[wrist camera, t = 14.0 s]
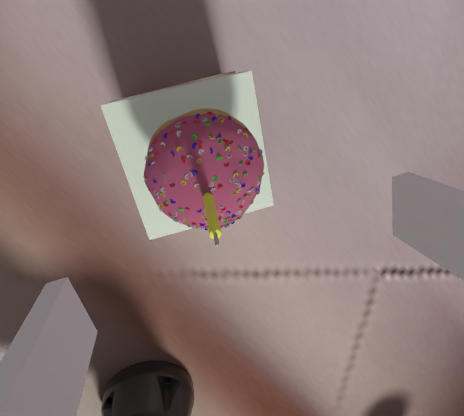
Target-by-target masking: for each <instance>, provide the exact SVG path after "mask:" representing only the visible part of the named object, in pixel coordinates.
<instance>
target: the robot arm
mask: <svg viewBox="0 0 464 416" xmlns="http://www.w3.org/2000/svg"><path fill="white" fill-rule="evenodd" d="M392 211H393V235H394V236H396V237H397V238H399V239H400V240H402V241H403V242H405V243H407V244H408V245H410V246H411V247H413V248H414V249H416V250H417V251H419V252H420V253H422V254H424V255H425V256H427V257H428V258H430V259H431V260H433V261H434V262H436V263H437V264H439V265H440V266H442V267H444V268H445V269H447V270H448V271H450V272H451V273H453V274H454V275H456V276H457V277H459V278H461V279H462V280H464V191H462V190H459V189H456V188H453V187H451V186H448V185H445V184H442V183H439V182H436V181H433V180H431V179H428V178H425V177H422V176H419V175H416V174H414V173H411V172H407V173H403V174H400V175H397V176H394V177H392ZM97 333H98V331H97V330H96V328H95V326H94V324H93V322H92V321H91V319H90V317H89V315H88V313H87V311H86V310H85V308H84V306H83V304H82V302H81V301H80V299H79V297H78V295H77V293H76V291H75V290H74V288H73V286H72V284H71V282H70V281H69V279H68V277H65V278H62V279H59V280H55V281H52V282H49V283H46V284H45V286H44V288H43V289H42V291H41V293H40V295H39V296H38V298H37V300H36V301H35V303H34V305H33V307H32V308H31V310H30V312H29V314H28V315H27V317H26V319H25V320H24V322H23V324H22V326H21V327H20V329H19V331H18V332H17V334H16V336H15V338H14V339H13V341H12V343H11V344H10V346H9V348H8V350H7V351H6V353H5V355H4V357H3V358H2V360H1V362H0V416H76V414H77V410H78V406H79V402H80V398H81V394H82V391H83V387H84V383H85V379H86V375H87V371H88V367H89V364H90V360H91V356H92V352H93V348H94V344H95V340H96V336H97ZM193 403H194V390H193V383H192V380H191V378H190V376H189V375H188V373H187V372H186V371H185V370H183V369H182V368H180V367H178V366H176V365H174V364H171V363H166V362H145V363H140V364H136V365H133V366H131V367H128V368H126V369H124V370H123V371H121V372H120V373H118V374H117V375H116V376H114V377H113V378H112V379H111V381H110V382H109V383H108V385H107V386H106V388H105V391H104V395H103V400H102V406H101V413H102V416H191V412H192V408H193Z"/></svg>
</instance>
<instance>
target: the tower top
mask: <svg viewBox="0 0 464 416" xmlns="http://www.w3.org/2000/svg"><path fill="white" fill-rule="evenodd" d="M100 106H101V108H102V111H103V114H104V117H105V119H106V122H107V125H108V128H109V130H110V133H111V136H112V139H113V141H114V144H115V147H116V149H117V152H118V155H119V158H120V160H121V163H122V166H123V169H124V171H125V174H126V177H127V180H128V182H129V185H130V188H131V191H132V193H133V196H134V199H135V202H136V204H137V207H138V210H139V212H140V215H141V218H142V221H143V223H144V226H145V229H146V232H147V234H148V237H149V240H152V239H155V238H159V237H163V236H166V235H170V234H173V233H177V232H180V231H184V230H188V229H191V226H190V228H189V227H188V226H187V225H184V224H180V223H178V222H175V221H173V220H172V219H171V218H169V217H168V216H167V215H165V214H164V213H163V212H161V211H160V210H159V207H158V205H157V204H156V202H155V200H154V198H153V196H152V195H151V193H150V191H149V190H148V188H147V186H146V184H145V181H144V177H143V176H144V170H145V164H146V160H145V156H147V152H148V146H149V143H150V140H151V138H152V136H153V134H154V133H155V132H156V130H157V129H158V128H159V127H160V126H161V125H163V124H164V123H165V122H166V121H168V120H171V119H174V118H176V117H178V116H180V115H183V114H185V113H187V112H190V111H193V110H197V109H217V110H221V111H224V112H226V113H228V114H230V115H231V116H233V117H234V118H236V119H237V120H239V121H240V122H242V123H243V124H244V125H245V126H246V127H247V128H248V130H249V131H250V132H251V133H252V135H253V136H254V138H255V139H256V141H257V144H258V146H259V148H260V149H261V150H262V151H263V153H262V155H263V160H264V170H263V172H264V175H263V176H262V180H261V182H262V183H261V186H260V193H259V192H258V193H259V194H257V195H256V197H255V199H254V202H253V204H251V205H250V206H249V208H248V209H247V210H246V212H245V213H248V212H252V211H256V210H259V209H263V208H266V207H270V206H273V198H272V192H271V186H270V180H269V174H268V168H267V162H266V155H265V149H264V143H263V137H262V131H261V125H260V119H259V112H258V106H257V100H256V94H255V88H254V82H253V76H252V71H245V72H238V73H232V74H228V75H224V76H219V77H215V78H210V79H206V80H202V81H197V82H193V83H188V84H184V85H180V86H175V87H171V88H166V89H162V90H158V91H153V92H149V93H145V94H140V95H136V96H131V97H127V98H123V99H118V100H114V101H110V102H108V103H105V104H102V105H100ZM245 213H244V214H245Z"/></svg>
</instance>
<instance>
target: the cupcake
mask: <svg viewBox="0 0 464 416" xmlns="http://www.w3.org/2000/svg"><path fill="white" fill-rule="evenodd" d="M262 153H263V151H262V150H261V149H260V148H259V146H258V144H257V141H256V139H255V138H254V136H253V135H252V133H251V132H250V131H249V130H248V128H247V127H246V126H245V125H244V124H243V123H242V122H240V121H239V120H237V119H236V118H234V117H233V116H231V115H230V114H228V113H226V112H224V111H221V110H217V109H197V110H193V111H190V112H187V113H185V114H183V115H180V116H178V117H176V118H174V119H171V120H168V121H166V122H165V123H164V124H163V125H161V126H160V127H159V128H158V129H157V130H156V132H155V133H154V134H153V136H152V138H151V140H150V143H149V146H148V152H147V156H145V160H146V164H145V170H144V176H143V177H144V181H145V184H146V186H147V188H148V190H149V191H150V193H151V195H152V196H153V198H154V200H155V202H156V204H157V205H158V207H159V210H160V211H161V212H163V213H164V214H165V215H167V216H168V217H169V218H171V219H172V220H173V221H175V222H178V223H180V224H184V225H187V226H188V227H189V228H190V226H191V228H205V230H209V235H210V237H211V238H213V239H214V241H215V246H216V247H218V246H219V241H218V238H219V237H220V236H221V229H220V228H222V227H223V226H225V227H229V223H231V224H233V223H234V221H235V220H237V219H241V217H242V215H243V214H244V213H245V212H246V210H247V209H248V208H249V206H250V205H251V204H253V202H254V199H255V197H256V195H257V194H259V193H260V186H261V183H262V182H261V180H262V176H263V175H264V172H263V170H264V160H263V155H262ZM258 192H259V193H258ZM232 222H233V223H232Z"/></svg>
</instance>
